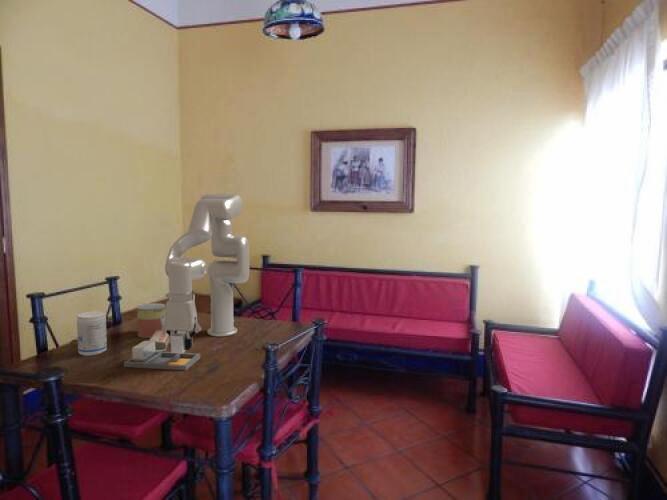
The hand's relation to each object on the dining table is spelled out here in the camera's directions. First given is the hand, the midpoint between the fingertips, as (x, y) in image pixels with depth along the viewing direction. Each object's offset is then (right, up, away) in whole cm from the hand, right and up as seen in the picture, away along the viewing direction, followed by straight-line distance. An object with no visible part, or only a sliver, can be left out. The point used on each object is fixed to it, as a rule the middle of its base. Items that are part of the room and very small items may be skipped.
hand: (182, 348), depth 156 cm
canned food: (-25, -2, +36) cm, 44 cm away
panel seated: (-14, -5, +2) cm, 15 cm away
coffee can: (-18, 0, +56) cm, 58 cm away
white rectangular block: (0, 0, 0) cm, 0 cm away
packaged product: (-16, -4, +21) cm, 27 cm away
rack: (-7, -6, +1) cm, 9 cm away
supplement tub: (-38, -4, +13) cm, 40 cm away
